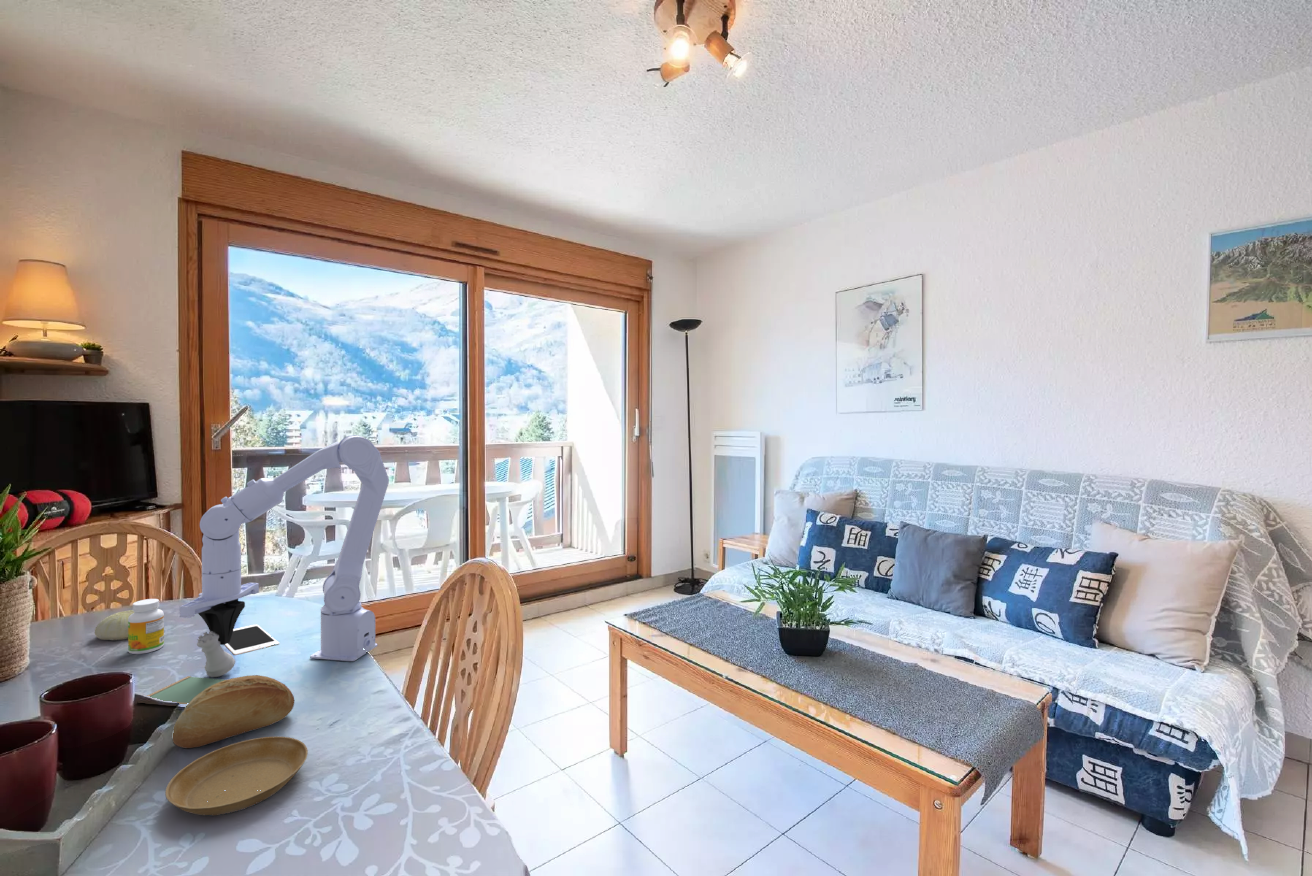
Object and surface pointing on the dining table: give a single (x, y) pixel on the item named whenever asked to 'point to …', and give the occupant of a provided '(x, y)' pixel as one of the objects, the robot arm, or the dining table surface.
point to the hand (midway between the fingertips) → (221, 643)
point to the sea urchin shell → (114, 626)
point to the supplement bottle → (145, 627)
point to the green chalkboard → (184, 689)
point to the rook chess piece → (215, 655)
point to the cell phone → (249, 639)
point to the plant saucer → (236, 775)
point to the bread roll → (232, 710)
